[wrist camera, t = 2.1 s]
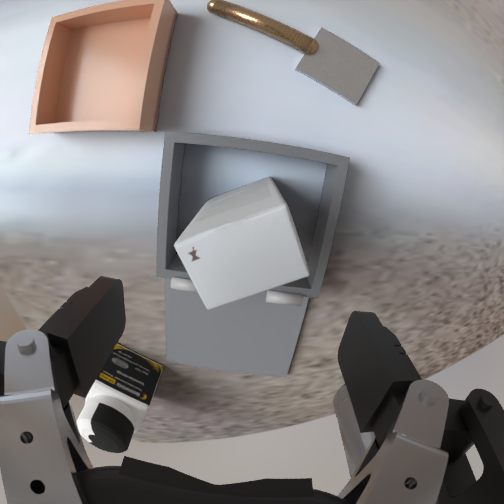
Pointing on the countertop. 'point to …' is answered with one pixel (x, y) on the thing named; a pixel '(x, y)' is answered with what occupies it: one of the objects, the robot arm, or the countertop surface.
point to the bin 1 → (103, 68)
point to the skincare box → (242, 245)
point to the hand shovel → (311, 51)
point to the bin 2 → (251, 308)
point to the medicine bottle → (118, 400)
